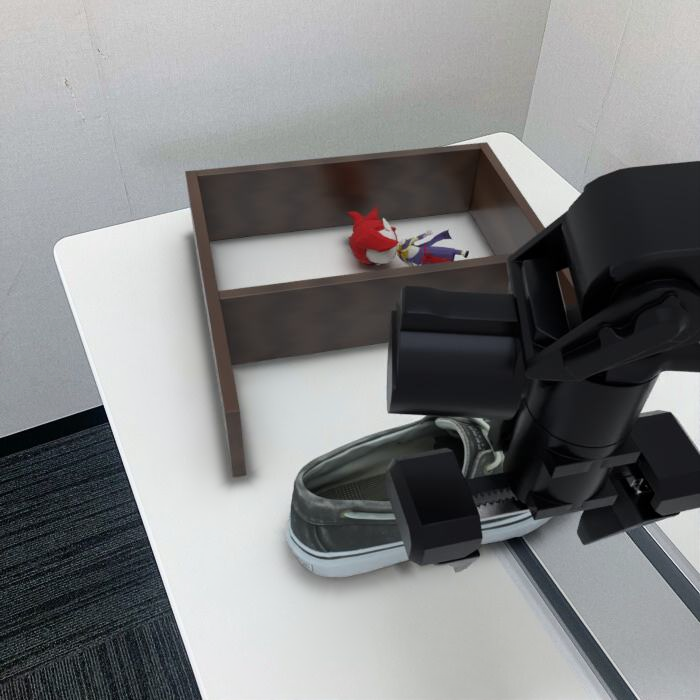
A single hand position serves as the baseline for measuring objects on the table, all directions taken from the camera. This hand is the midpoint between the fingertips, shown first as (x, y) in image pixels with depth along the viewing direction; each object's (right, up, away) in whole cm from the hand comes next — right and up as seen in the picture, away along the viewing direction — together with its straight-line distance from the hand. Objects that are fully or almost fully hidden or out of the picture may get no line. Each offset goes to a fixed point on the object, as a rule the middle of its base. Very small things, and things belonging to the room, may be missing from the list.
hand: (519, 551), depth 51 cm
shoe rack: (-9, +17, +30) cm, 36 cm away
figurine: (-6, +23, +36) cm, 44 cm away
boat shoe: (-3, 0, +14) cm, 15 cm away
